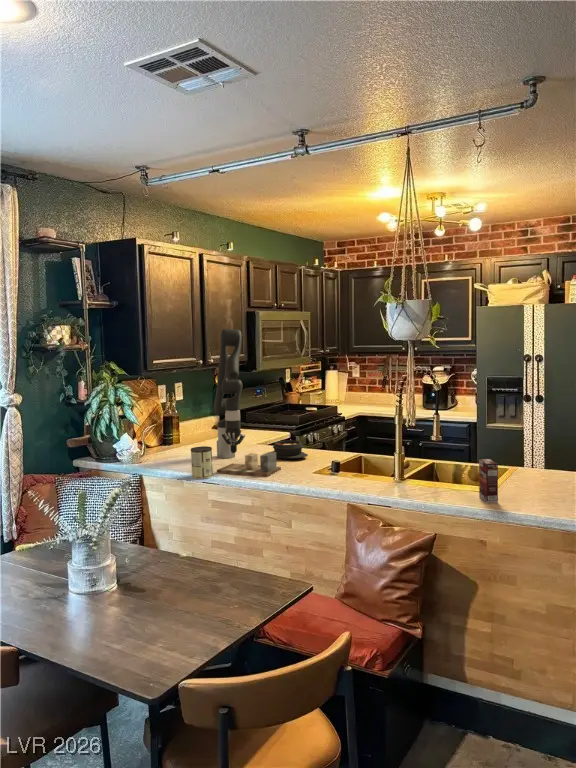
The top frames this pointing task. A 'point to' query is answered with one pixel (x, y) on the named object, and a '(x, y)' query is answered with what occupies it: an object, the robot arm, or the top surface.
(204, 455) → the coffee can
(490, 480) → the supplement box
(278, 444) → the casserole
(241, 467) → the board
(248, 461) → the tan wooden block
